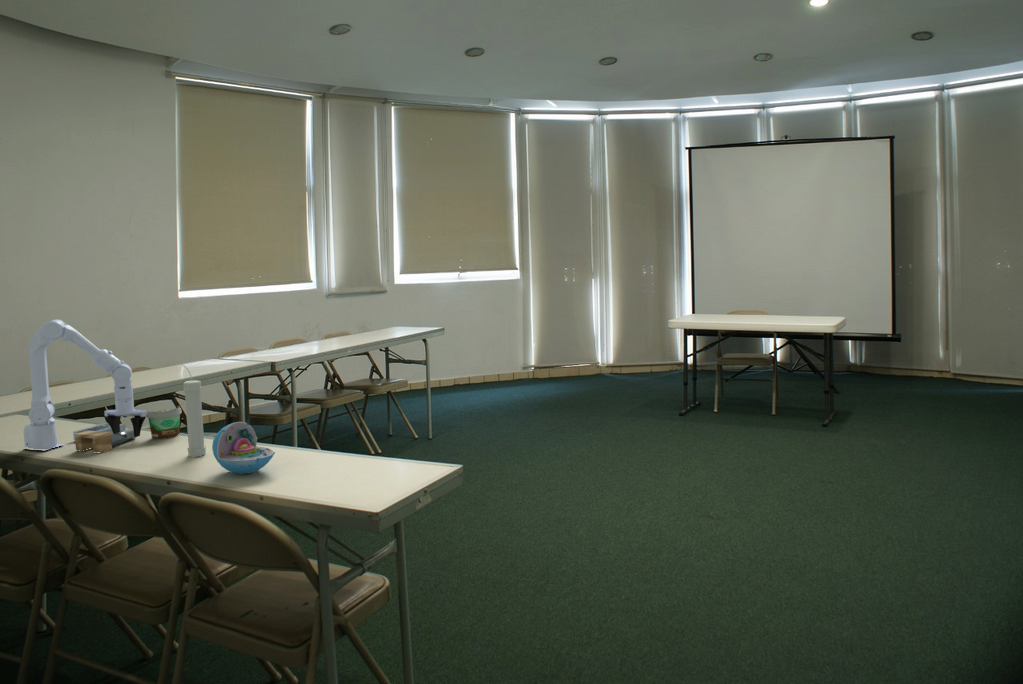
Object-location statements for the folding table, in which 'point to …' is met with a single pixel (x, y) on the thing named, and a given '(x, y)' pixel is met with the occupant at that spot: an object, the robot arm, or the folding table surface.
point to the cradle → (100, 428)
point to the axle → (122, 436)
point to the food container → (164, 423)
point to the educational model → (240, 449)
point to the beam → (93, 441)
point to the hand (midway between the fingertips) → (127, 436)
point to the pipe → (194, 417)
